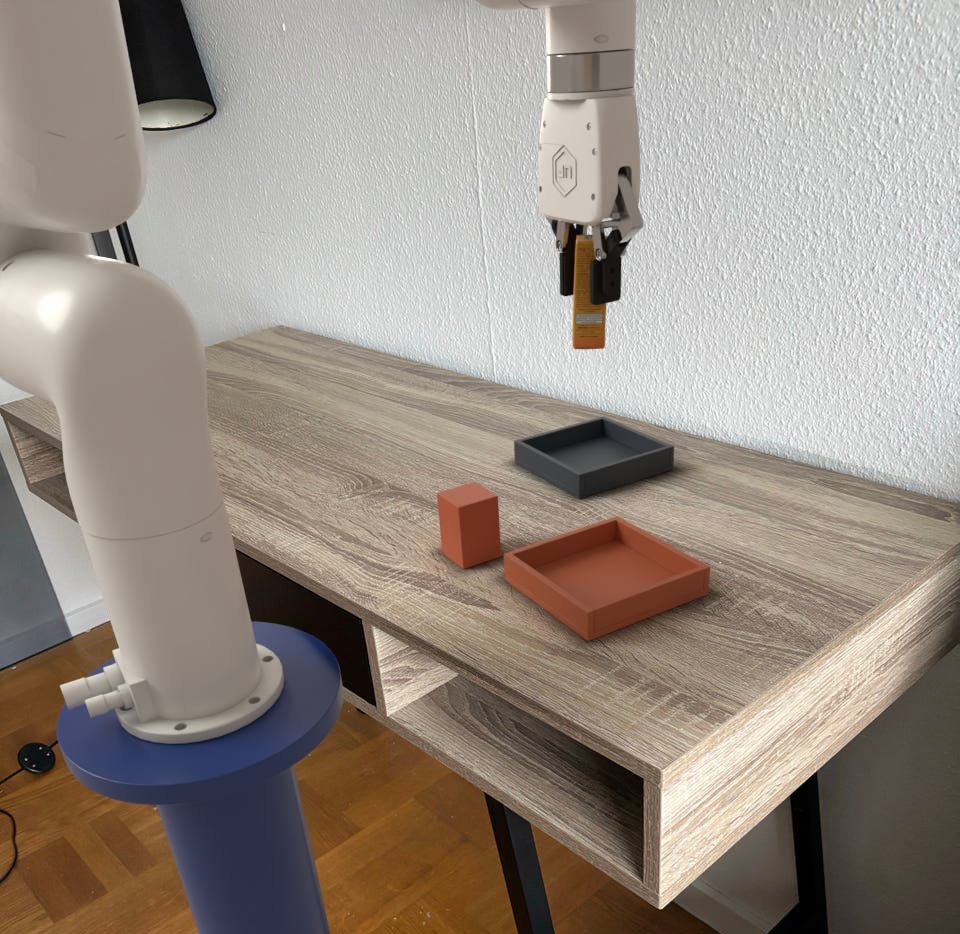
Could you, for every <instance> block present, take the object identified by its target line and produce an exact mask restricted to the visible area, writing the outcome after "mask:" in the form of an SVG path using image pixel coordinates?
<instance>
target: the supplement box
mask: <svg viewBox="0 0 960 934" xmlns="http://www.w3.org/2000/svg"><path fill="white" fill-rule="evenodd" d="M576 236H577V238H576V248H575V271H574V289H573V291H574V293H573V295H572V347H573V349H574V350H603V349H605V348H606V322H607V321H606V320H607V303H605V304H600V305H593V304H591V302H590V260H593V259H596V258H595V254H594V245H593V236H592V234H587V235H576ZM607 237H608V235H606V234H605V240H606V238H607Z"/></svg>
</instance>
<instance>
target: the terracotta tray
mask: <svg viewBox="0 0 960 934" xmlns="http://www.w3.org/2000/svg"><path fill="white" fill-rule="evenodd" d="M503 567H504V568H503V570H504V581H506V582H507V583H508V584H510V585H511V586H513V587H514V588H515V589H517V590H518V591H519V592H520V593H522V594H523V595H524V596H526V597H527V598H528V599H530V600H531V601H532V602H534V603H535V604H537V605H538V606H539V607H541V608H542V609H543V610H545V611H546V612H547V613H549V614H550V615H552V616H553V617H554V618H555V619H557V620H558V621H560V622H561V623H562V624H564V625H565V626H566V627H568V628H569V629H570V630H572V631H573V632H575V633H576V634H577V635H578V636H580V637H582V638H583V639H584V640H586V641H587V642H590V641H593V640H595V639H598V638H600V637H603V636H605V635H608V634H610V633H613V632H615V631H618V630H620V629H623V628H625V627H629V626H630V625H633V624H636V623H638V622H641V621H644V620H646V619H649V618H651V617H653V616H657V615H659V614H662V613H664V612H667V611H670V610H671V609H675V608H677V607H679V606H682V605H684V604H687V603H690V602H692V601H694V600H698V599H700V598H702V597H705V596H707V595H709V588H710V576H711V566H710V565H708V564H706V563H704V562H703V561H700V560H699V559H697V558H695V557H693V556H691V555H689V554H687V553H686V552H684V551H682V550H680V549H678V548H677V547H675V546H673V545H671V544H669V543H668V542H665V541H664V540H662V539H661V538H659V537H656V536H655V535H654V534H651V533H650V532H648V531H646V530H644V529H642V528H640V527H638V526H637V525H635V524H633V523H631V522H630V521H627V520H626V519H624V518H622V517H620V516H618V515H616V516H613V517H610V518H608V519H605V520H601V521H598V522H595V523H592V524H589V525H587V526H582V527H579V528H577V529H574V530H571V531H568V532H565V533H561V534H559V535H555V536H553V537H550V538H547V539H544V540H541V541H537V542H535V543H534V542H533V543H532V544H529V545H526V546H523V547H519V548H517V549H513V550H511V551H509V552H505V553H503Z"/></svg>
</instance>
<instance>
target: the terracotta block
mask: <svg viewBox="0 0 960 934" xmlns="http://www.w3.org/2000/svg"><path fill="white" fill-rule="evenodd" d="M436 500H437V508H438V509H437V511H438V521H439V522H438V523H439V532H440V543H441V544H440V545H441V553H442V554H443V555H444V556H446V557H447V558H448V559H449V560H451V561H452V562H453V563H455V564H456V565H457V566H458V567H460V568H461V569H463V570H465V569H468V568H471V567H474V566H478V565H480V564H483V563H486V562H489V561H492V560H495V559H499V558H501V557H502V546H501V545H502V544H501V528H500V527H501V526H500V525H501V524H500V511H499V510H500V509H499V508H500V507H499V496H498V495H497V494H496V493H495V492H492V491H491V490H489V489H488V488H486V487H484V486H483V485H481V484H480V483H478V482H476V481H473V482H469V483H467V484H463V485H459V486H456V487H453V488H449V489H445V490H442V491H439V492H437V493H436Z"/></svg>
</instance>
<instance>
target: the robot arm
mask: <svg viewBox="0 0 960 934" xmlns="http://www.w3.org/2000/svg"><path fill="white" fill-rule="evenodd" d="M472 1H473V2H474V3H476V4H477V5H479V6H480V7H482V8H484V9H487V10H490V11H493V12H500V13H512V12H514V13H515V12H523V11H535V10H541V9H545V11H544V12H545V15H544V16H545V51H546V52H545V54H546V56H545V57H546V58H545V59H546V60H545V61H546V62H545V63H546V64H545V65H546V66H545V67H546V97H545V98H544V101H543V107H542V111H541V112H542V113H541V118H540V119H541V120H540V130H539V141H538V147H539V148H538V165H537V166H538V167H537V169H538V172H537V199H538V209H539V211H540V213H541V214H542V215H543V216H544V218H545V219H546V220H547V222H548V223H549V225H550V228H551V230H552V232H553V234H554V237H555V249H556V251H557V252H559V253H558V254H559V258H558V259H559V294H560V296H562V297H571V296H573V293H574V291H573V289H574V271H575V248H576V238H577V236H576V235H588V229H589V228H588V227H591V235H592V236H593V245H594V254H595V258H596V259H593V260H590V302H591V304H593V305H600V304H605V303H606V304H610V303H613V302H618V301H619V300H621V298H622V257H625V256H626V254H627V247H628V245H629V244H630V242H631V241H632V239H633V238H634V237H635V236H636V235H637V234H638V233H639V232H640V231H641V230H642V229H643V228H644V220H643V216H642V214H641V211H640V208H639V204H640V193H641V146H640V145H641V144H640V142H641V141H640V130H639V129H640V128H639V127H640V126H639V117H638V107H637V101H636V94H635V74H636V73H635V71H636V70H635V69H636V34H637V33H636V32H637V30H636V28H637V0H472ZM126 40H127V39H126V34H125V29H124V23H123V18H122V13H121V8H120V2H119V0H0V379H1V380H2V381H4V382H6V383H7V384H8V385H11V386H12V387H14V388H16V389H18V390H21V391H22V392H24V393H27V394H30V395H33V396H34V397H37V398H39V399H42V400H45V401H47V402H48V403H50V404H53V405H54V408H55V410H56V412H57V416H58V421H59V424H60V432H61V445H62V460H63V461H62V462H63V469H64V474H65V480H66V484H67V488H68V491H69V497H70V500H71V503H72V507H73V510H74V513H75V516H76V519H77V523H78V526H79V528H80V529H81V532H82V536H83V539H84V543H85V545H86V548H87V549H86V550H87V552H88V555H89V557H90V561H91V564H92V568H93V571H94V574H95V577H96V580H97V583H98V586H99V589H100V593H101V596H102V599H103V602H104V606H105V608H106V612H107V615H108V618H109V621H110V624H111V627H112V630H113V633H114V637H115V641H116V643H117V645H118V648H115V649H113V650H112V651H111V652H112V654H113V657H114V658H115V661H116V663H114V664H113V665H110V666H107V667H104V668H103V670H104V672H103V673H100V674H97V675H94V676H91V677H88V678H86V677H81V678H78V679H75V680H72V681H69V682H65V683H63V684H60V685H59V688H60V690H61V693H62V696H63V698H64V702H66V704H67V707H68V709H69V710H71V709H74V708H77V707H80V706H83V705H86V706H87V708H88V711H89V714H90V716H91V718H93V717H96V716H99V715H102V714H105V713H108V712H109V711H111V710H114V709H115V711H116V714H117V718H118V720H119V722H120V723H121V725H122V727H123V728H124V729H125V730H127V731H128V732H129V733H130V734H132V735H134V736H136V737H138V738H140V739H144V740H147V741H151V742H156V743H165V744H186V743H193V742H200V741H205V740H209V739H213V738H217V737H220V736H223V735H226V734H228V733H231V732H234V731H236V730H238V729H240V728H242V727H244V726H246V725H248V724H250V723H251V722H253V721H254V720H256V719H257V718H259V717H260V716H262V715H263V714H264V713H265V712H266V711H267V710H268V709H269V708H270V707H272V706H273V704H274V703H275V702H276V700H277V699H278V698H279V696H280V694H281V692H282V689H283V686H284V674H283V668H282V665H281V662H280V660H279V658H278V657H277V656H276V655H275V654H274V653H273V652H272V651H271V650H269V649H267V648H266V647H264V646H262V645H259V644H256V641H255V636H254V632H253V627H252V623H251V621H252V619H251V618H252V617H251V614H250V609H249V606H248V602H247V597H246V592H245V588H244V583H243V579H242V574H241V569H240V565H239V561H238V556H237V551H236V547H235V543H234V538H233V533H232V530H231V529H232V528H231V525H230V520H229V516H228V511H227V507H226V504H225V503H226V502H225V498H224V495H223V490H222V487H221V481H220V477H219V472H218V468H217V463H216V457H215V454H214V448H213V447H214V446H213V442H212V435H211V429H210V428H211V427H210V420H209V419H210V418H209V408H208V407H209V406H208V405H209V404H208V373H207V371H208V370H207V359H206V358H207V357H206V349H205V348H206V347H205V344H204V340H203V336H202V333H201V329H200V327H199V324H198V322H197V319H196V317H195V316H194V314H193V312H192V310H191V308H190V306H188V304H187V302H186V301H185V300H184V299H183V297H182V296H181V295H180V294H179V293H178V292H177V291H176V289H174V288H173V286H170V284H169V283H168V282H166V281H165V280H164V279H162V278H161V277H159V276H158V275H156V274H154V273H152V272H151V271H150V270H147V269H145V268H142V267H140V266H138V265H135V264H132V263H130V262H126V261H123V260H119V259H114V258H109V257H106V256H105V257H104V256H98V255H94V254H92V249H91V246H90V241H89V235H88V234H92V233H99V232H105V231H108V230H111V229H113V228H115V227H118V226H120V225H121V224H124V223H125V222H127V221H128V220H129V219H130V218H131V217H132V216H133V215H134V214H135V213H136V211H137V209H138V208H139V207H140V205H141V203H142V201H143V199H144V197H145V194H146V189H147V183H148V156H147V148H146V144H145V143H146V142H145V137H144V131H143V130H144V129H143V125H142V120H141V115H140V110H139V104H138V99H137V94H136V89H135V83H134V77H133V72H132V67H131V60H130V56H129V49H128V45H127V41H126ZM606 219H610V220H606ZM574 224H575V225H574ZM610 228H611V231H610V232H609V233H608V235H607V236H608V237H607V238H606V240H605V235H606V232H605V229H610Z"/></svg>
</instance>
